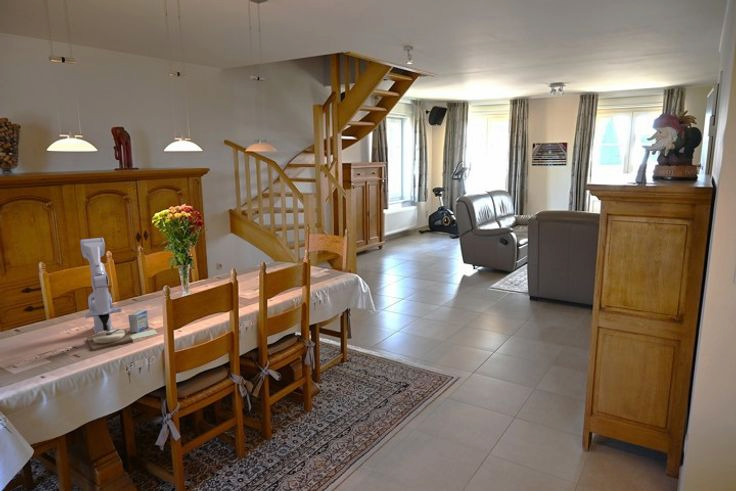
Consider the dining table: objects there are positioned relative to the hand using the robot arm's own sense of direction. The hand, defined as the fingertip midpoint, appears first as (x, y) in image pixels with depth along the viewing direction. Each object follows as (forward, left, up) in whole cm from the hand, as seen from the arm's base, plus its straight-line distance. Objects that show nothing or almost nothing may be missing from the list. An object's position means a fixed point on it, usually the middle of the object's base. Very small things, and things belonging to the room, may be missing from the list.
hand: (105, 330), depth 223 cm
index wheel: (+4, +1, -2) cm, 5 cm away
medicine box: (-2, +15, -4) cm, 15 cm away
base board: (+4, +1, -4) cm, 6 cm away
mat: (+5, +15, -4) cm, 16 cm away
